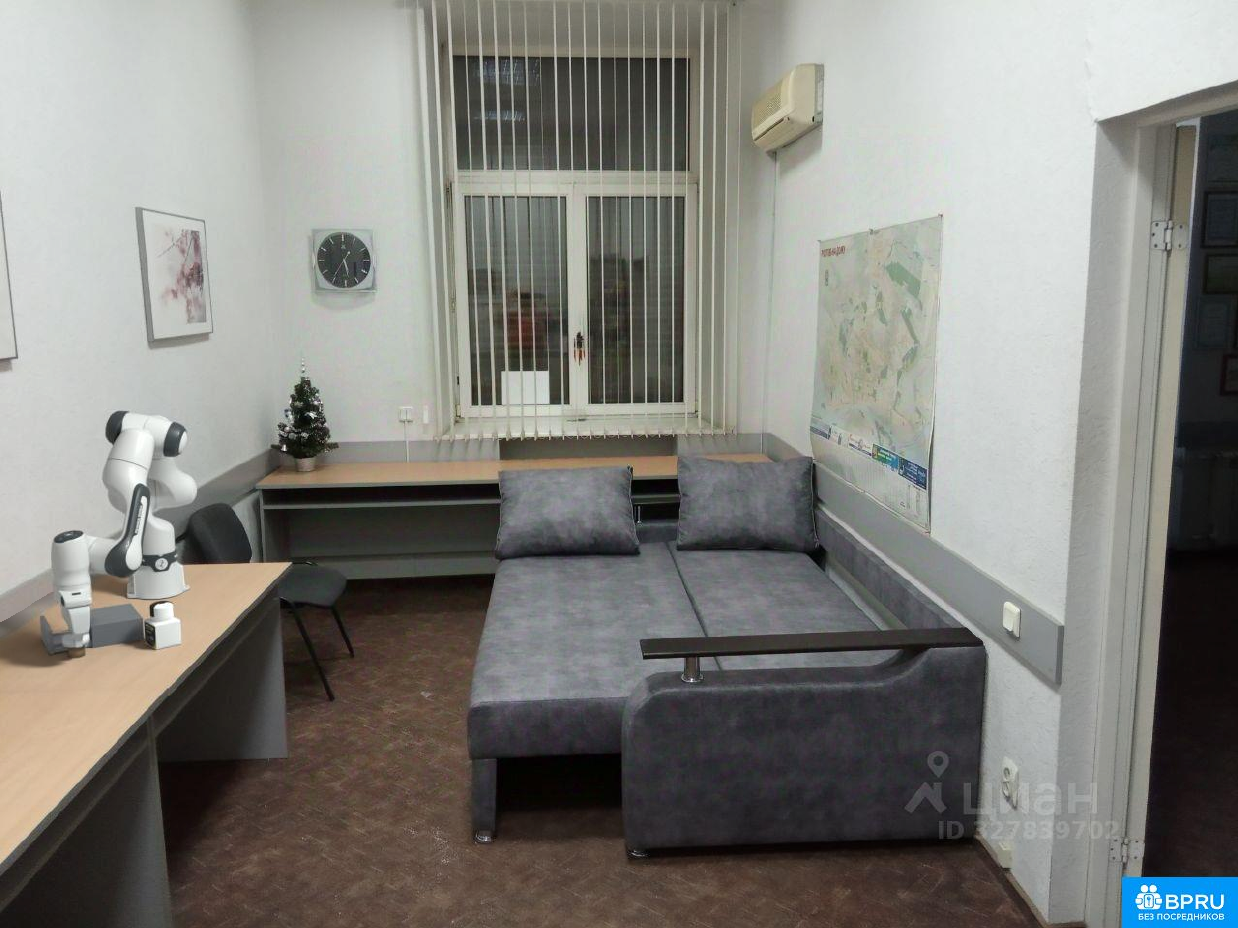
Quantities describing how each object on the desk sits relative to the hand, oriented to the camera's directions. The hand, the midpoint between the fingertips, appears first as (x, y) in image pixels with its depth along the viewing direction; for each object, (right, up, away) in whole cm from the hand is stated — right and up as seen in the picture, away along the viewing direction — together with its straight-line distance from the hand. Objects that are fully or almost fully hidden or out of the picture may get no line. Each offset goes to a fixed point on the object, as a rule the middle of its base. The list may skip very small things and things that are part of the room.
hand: (76, 642), depth 267 cm
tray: (-7, -2, +10) cm, 13 cm away
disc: (0, 0, 0) cm, 0 cm away
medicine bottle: (+18, -3, +11) cm, 22 cm away
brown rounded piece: (0, -4, +1) cm, 4 cm away
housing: (+1, -1, +17) cm, 17 cm away
